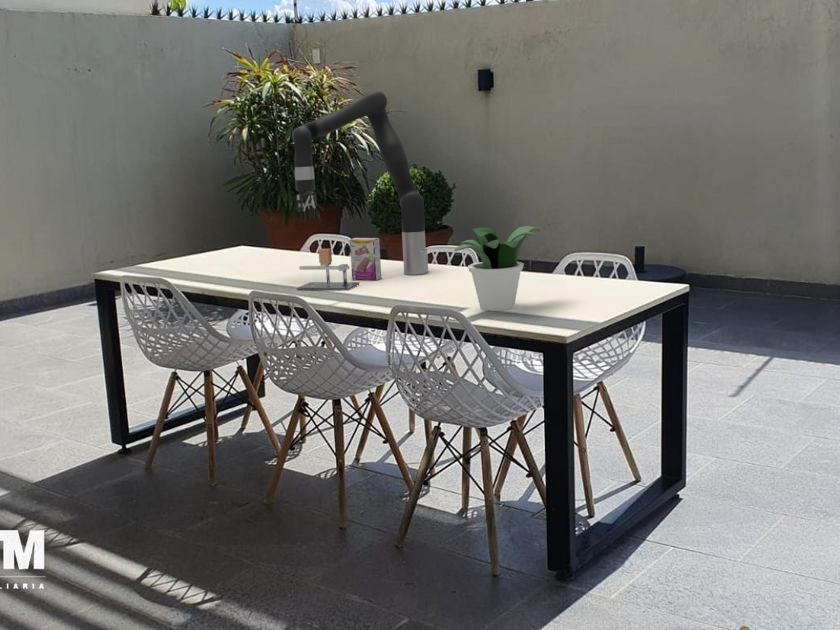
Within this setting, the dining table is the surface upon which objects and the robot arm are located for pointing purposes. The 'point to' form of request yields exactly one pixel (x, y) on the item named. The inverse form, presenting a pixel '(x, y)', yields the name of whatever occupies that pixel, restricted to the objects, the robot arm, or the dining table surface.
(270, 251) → the dining table surface
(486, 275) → the potted plant
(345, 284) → the bolt plate
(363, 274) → the candy bar box
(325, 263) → the block
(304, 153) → the robot arm
